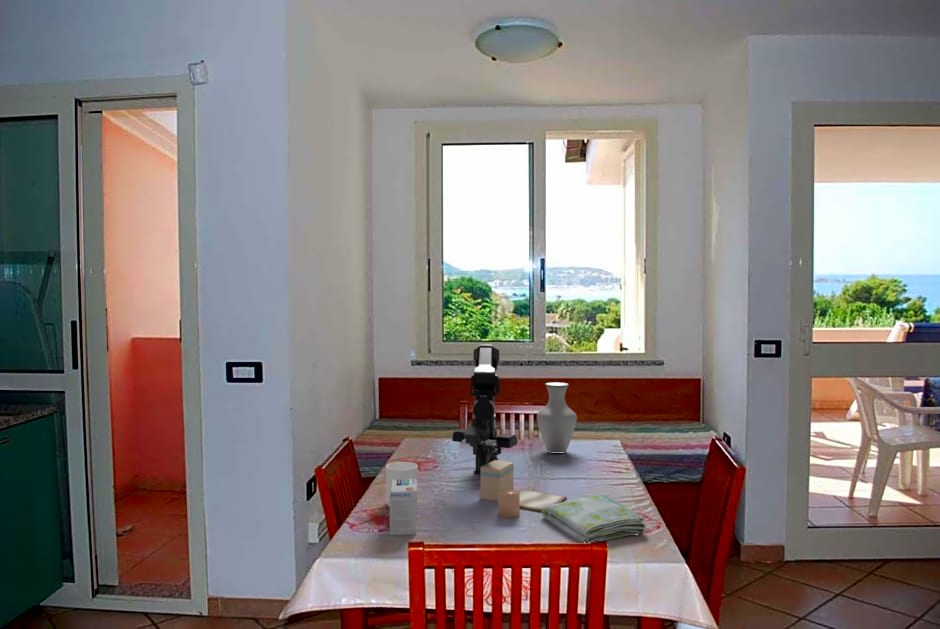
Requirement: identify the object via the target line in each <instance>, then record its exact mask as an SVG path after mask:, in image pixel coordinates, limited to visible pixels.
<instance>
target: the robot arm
mask: <svg viewBox="0 0 940 629" xmlns="http://www.w3.org/2000/svg"><path fill="white" fill-rule="evenodd" d="M472 357H473V359H472V360H473V364H474V365H475V368H473V374H471V376H470V397H474V404H473V408H472V412H473V415H474V417H473V418H471V424H470V426H468V427H467V428H460V429H457V430H455V431H453V432H452V435H451V439H452V442H457V443H462V442H463V441H465V444H467V445H469V447H472V454H473V455H475V470H473V471H472V473H473V472H474V473H473V474H477V473H480V471H481V467H482V466H484V465H486V464H488V463H490V462H492V461H494V460H499V458H498V456H499V455H501V454H502V449H510V448H511V449H512V448H513V447H515V446H517V445H518V437H517V436H516V434H510V433H503V434H500V435H498V430H497V428H496V426H495V421H497V416H495V397H498V394H500V391H501V390H500V388H501V382H500V381H501V380H500V377H499V375H498V374H496V372H497V371H498V365H500V349H498V348H496V347H495V345H492V344H479V345H477V348H475V349H473V356H472Z"/></svg>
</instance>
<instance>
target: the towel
mask: <svg viewBox="0 0 940 629" xmlns="http://www.w3.org/2000/svg"><path fill="white" fill-rule="evenodd" d="M541 515H542V517H543V519H544V520H545V521H546V520H547V521H548V522H550V523H551V524H552V525H554V526H555V527H557V529H559V530H561V531H563V533H566V534H567V535H568V536H570V537H571V538H573V539H574V540H576V541H578V542H580V543H582V542H591V541H599V542H602V541H607V540H608V541H609V540H613V539H618V538H622V537H626V536H636V535H635V534H639V533H644V532H645V529H646V524H645V523H644V521H645V518H644V517H643V516H642V515H640V514H637V513H636V512H634V511H633V510H630V509H629V508H627V507H626V506H625V505H624V504H622V503H621V502H618V501H617V500H615V499H614V498H612V497H610V496H608V495H606V494H603V493H602V494H596V495H590V496H586V497H582V498H577V499H573V500H565V501H563V502H562V503H557V504H553V505H549V506H546V507H544V508H543V509H542V512H541ZM639 535H640V534H639Z"/></svg>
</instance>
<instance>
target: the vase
mask: <svg viewBox="0 0 940 629" xmlns="http://www.w3.org/2000/svg"><path fill="white" fill-rule="evenodd" d="M545 385H546V389H547V392H548V397H549V398H548V402H547V404H546V405H545V406H544V407H543V408H542V409H541V410H539V411H538V412H537V414H536V422H537V425H538V428H539V432H540V436H541V439H542V441H543V444H544V446H545V449H546V451H547V452H548V451H550V452H565V451H566V452H567V450H568V448H569V445H570V443H571V441H572V438H573V434H574V431H575V427H576V425H577V420H578V416H577V413H576V412H575V411H573V409H571V408H570V407H569V406H568V405H567V402H566V398H565V396H566V392H567V389H568V387H569V383H566V382H556V381H555V382H547V383H545Z"/></svg>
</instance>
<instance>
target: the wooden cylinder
mask: <svg viewBox="0 0 940 629" xmlns="http://www.w3.org/2000/svg"><path fill="white" fill-rule="evenodd" d="M519 491H520V490H517V489H514V488H513V489H504V490H500V491H499V492H498V501H497V503H498V506H497V507H498V509H497V510H498V514H497V515H498V517H500V518H503V519H516V518H519V517H520V516H521V512H520V511H521V510H520V509H521V508H520V492H519Z"/></svg>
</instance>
